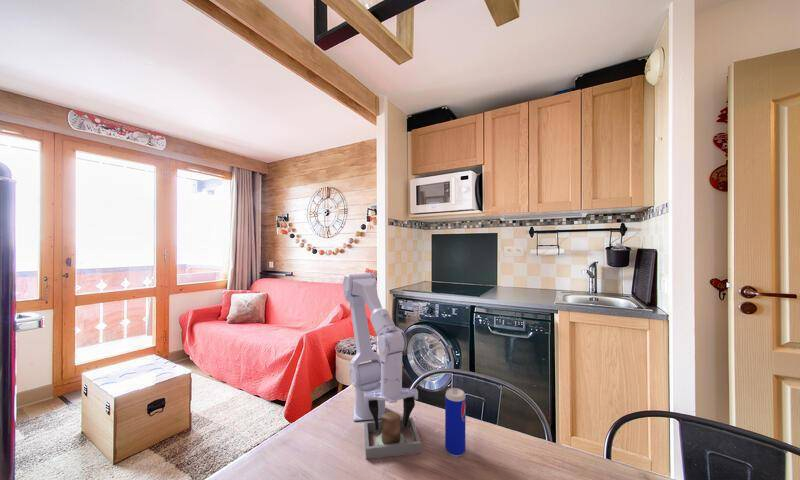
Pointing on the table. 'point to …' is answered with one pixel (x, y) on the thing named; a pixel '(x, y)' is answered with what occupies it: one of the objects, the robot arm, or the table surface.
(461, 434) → the beverage can
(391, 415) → the walnut cylinder
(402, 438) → the coaster
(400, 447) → the grey rectangular frame
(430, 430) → the table surface
